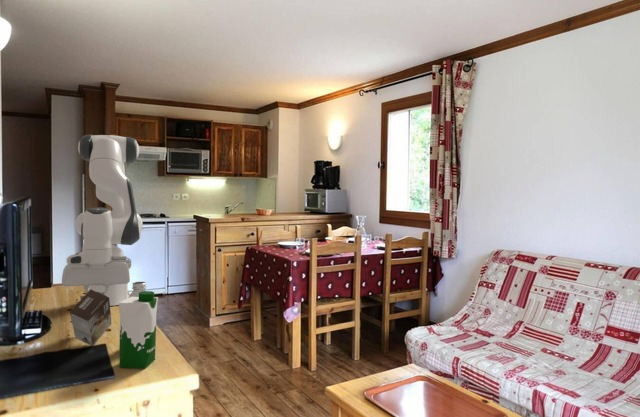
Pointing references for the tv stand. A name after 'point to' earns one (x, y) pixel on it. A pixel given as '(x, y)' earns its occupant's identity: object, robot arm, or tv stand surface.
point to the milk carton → (138, 331)
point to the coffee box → (91, 317)
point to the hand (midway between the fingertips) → (96, 298)
